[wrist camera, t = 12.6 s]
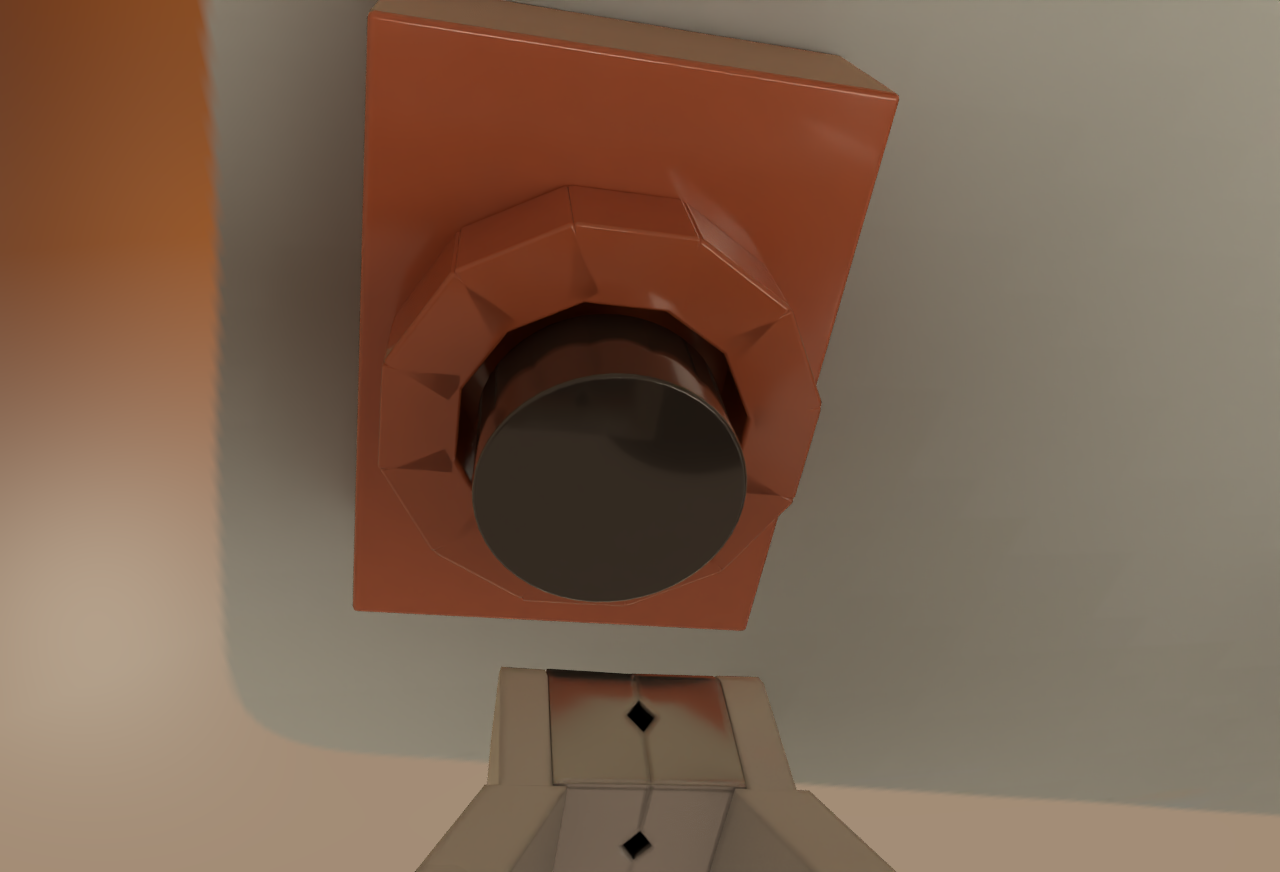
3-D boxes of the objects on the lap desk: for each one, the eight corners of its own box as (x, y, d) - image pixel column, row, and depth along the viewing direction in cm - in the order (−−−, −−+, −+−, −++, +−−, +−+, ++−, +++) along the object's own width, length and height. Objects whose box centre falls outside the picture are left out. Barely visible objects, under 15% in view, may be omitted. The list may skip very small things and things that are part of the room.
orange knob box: (719, 540, 23) (765, 697, 19) (371, 516, 22) (337, 680, 18) (843, 55, 18) (947, 123, 14) (390, -19, 16) (348, 31, 12)
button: (696, 532, 17) (717, 610, 16) (466, 516, 17) (461, 597, 15) (746, 326, 15) (776, 389, 14) (487, 298, 15) (483, 360, 13)
